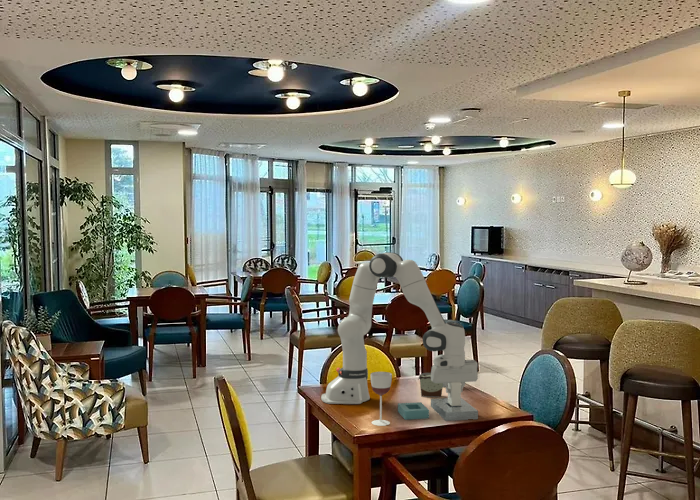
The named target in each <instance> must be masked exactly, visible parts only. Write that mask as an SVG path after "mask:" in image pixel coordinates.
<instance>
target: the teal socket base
mask: <svg viewBox="0 0 700 500" xmlns="http://www.w3.org/2000/svg"><path fill="white" fill-rule="evenodd" d="M397 413H399V415H400V416H401V417H402V418H403V419H404V420H422V419H423V420H426V419H430V410H429V408H427V406H425V405H424V403H423V402H398V403H397Z"/></svg>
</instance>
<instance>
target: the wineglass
mask: <svg viewBox="0 0 700 500" xmlns="http://www.w3.org/2000/svg"><path fill="white" fill-rule="evenodd" d="M392 377H393V373H391V372H387V371H375V372H371V373H370V383H371V388H372V391H373V392H374V393H375V394H377V395H379V419H375V420H372V421H371V424H372V425H374V426H378V427H381V426H383V427H385V426H388V425H390V424H391V422H390V421H389V420H385V419H383V415H382V414H383V405H382V404H383V396H384V395H386V394H388V393H389V391H390V389H391V387H392V386H391V385H392V379H393V378H392Z"/></svg>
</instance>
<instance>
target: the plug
mask: <svg viewBox="0 0 700 500" xmlns="http://www.w3.org/2000/svg"><path fill="white" fill-rule="evenodd" d="M448 388H450V389H451V391H450V393H447V398H448V403H449V404H450V405H451V406H461V398H462V394H461V393H462V392H461V382H451V383H448Z"/></svg>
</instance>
